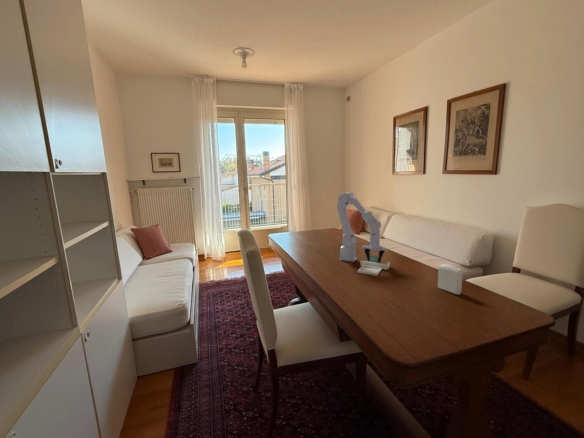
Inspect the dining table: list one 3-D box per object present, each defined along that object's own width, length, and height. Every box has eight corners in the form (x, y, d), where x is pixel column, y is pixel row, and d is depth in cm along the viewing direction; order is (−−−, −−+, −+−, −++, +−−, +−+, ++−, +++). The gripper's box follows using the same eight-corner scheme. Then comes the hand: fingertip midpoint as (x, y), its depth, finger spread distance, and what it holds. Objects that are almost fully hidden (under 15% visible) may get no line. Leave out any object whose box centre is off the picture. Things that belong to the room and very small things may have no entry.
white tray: (357, 272, 149) (357, 270, 148) (362, 266, 158) (362, 264, 158) (377, 276, 143) (377, 273, 143) (381, 269, 152) (381, 267, 152)
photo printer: (435, 287, 127) (437, 262, 126) (441, 285, 129) (443, 261, 127) (456, 295, 118) (459, 269, 116) (462, 293, 120) (465, 267, 118)
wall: (360, 265, 160) (360, 260, 160) (362, 262, 165) (363, 258, 165) (387, 269, 152) (387, 264, 152) (389, 266, 157) (389, 262, 157)
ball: (368, 264, 162) (368, 255, 162) (370, 261, 167) (370, 253, 166) (377, 265, 160) (377, 256, 159) (379, 263, 164) (379, 254, 164)
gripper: (361, 240, 161) (360, 261, 163) (385, 242, 154) (384, 265, 156) (364, 238, 167) (363, 258, 169) (388, 240, 160) (387, 261, 162)
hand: (374, 261), depth 163 cm, fingers open, 6 cm apart
